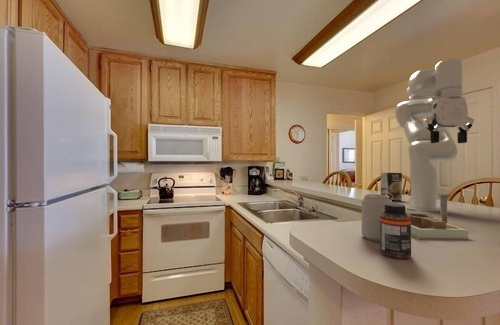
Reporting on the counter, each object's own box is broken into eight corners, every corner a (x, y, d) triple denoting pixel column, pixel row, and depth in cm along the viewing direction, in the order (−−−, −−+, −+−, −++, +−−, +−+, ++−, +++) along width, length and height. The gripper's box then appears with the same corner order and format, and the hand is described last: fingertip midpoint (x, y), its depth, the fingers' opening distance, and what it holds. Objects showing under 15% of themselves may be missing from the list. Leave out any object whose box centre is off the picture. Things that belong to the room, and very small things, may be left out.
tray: (384, 224, 82) (384, 216, 82) (423, 224, 81) (423, 216, 81) (419, 239, 64) (419, 229, 65) (468, 240, 64) (468, 229, 64)
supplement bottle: (388, 248, 58) (388, 201, 58) (416, 256, 53) (416, 205, 53) (374, 253, 55) (374, 203, 55) (403, 262, 50) (402, 207, 50)
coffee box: (388, 201, 134) (388, 172, 134) (380, 199, 140) (380, 172, 140) (402, 201, 136) (402, 172, 136) (393, 199, 142) (393, 172, 142)
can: (397, 243, 61) (397, 197, 61) (365, 241, 63) (365, 196, 63) (386, 235, 69) (386, 193, 69) (358, 233, 70) (358, 192, 70)
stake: (419, 220, 87) (419, 192, 87) (444, 221, 87) (444, 192, 87) (443, 228, 76) (443, 196, 76) (472, 229, 76) (471, 196, 76)
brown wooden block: (400, 225, 78) (400, 213, 78) (422, 225, 78) (422, 213, 78) (427, 236, 66) (427, 221, 66) (452, 236, 66) (452, 222, 66)
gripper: (431, 92, 82) (432, 141, 82) (482, 92, 82) (483, 142, 82) (416, 98, 90) (417, 143, 89) (463, 98, 89) (463, 143, 89)
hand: (448, 142), depth 86 cm, fingers open, 9 cm apart
